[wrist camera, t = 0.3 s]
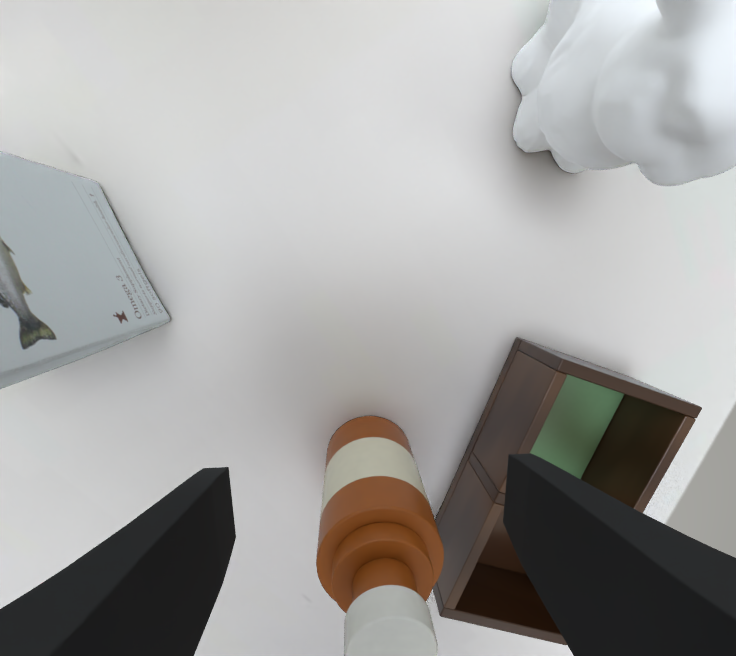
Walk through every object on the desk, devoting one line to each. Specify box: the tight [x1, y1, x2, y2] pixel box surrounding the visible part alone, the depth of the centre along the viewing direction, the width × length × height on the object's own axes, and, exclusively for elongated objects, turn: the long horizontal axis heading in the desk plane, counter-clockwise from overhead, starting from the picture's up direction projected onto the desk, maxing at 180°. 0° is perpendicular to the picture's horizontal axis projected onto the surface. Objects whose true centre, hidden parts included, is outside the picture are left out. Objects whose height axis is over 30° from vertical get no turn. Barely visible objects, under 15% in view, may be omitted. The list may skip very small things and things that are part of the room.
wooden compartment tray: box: [433, 337, 702, 645], centre depth 18 cm, size 14×8×4 cm, turn 160°
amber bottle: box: [316, 416, 444, 656], centre depth 15 cm, size 5×5×10 cm
